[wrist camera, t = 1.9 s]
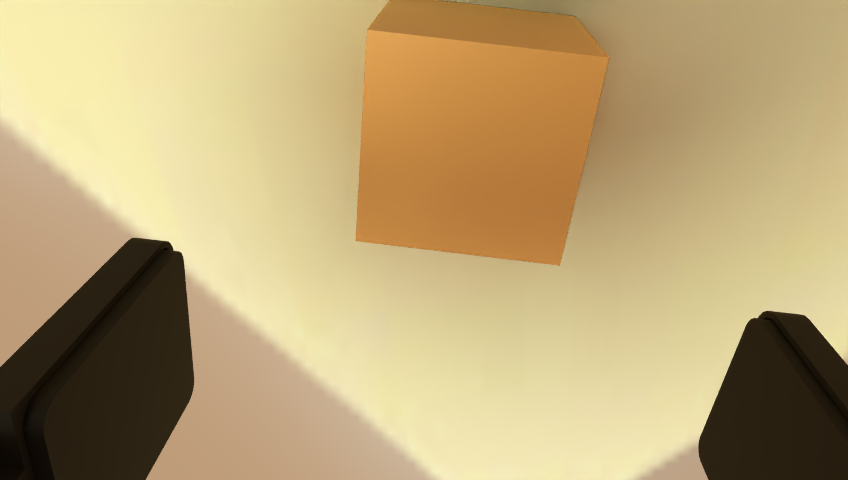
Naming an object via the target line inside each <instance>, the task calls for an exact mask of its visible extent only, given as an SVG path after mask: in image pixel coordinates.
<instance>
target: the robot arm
mask: <svg viewBox="0 0 848 480" xmlns="http://www.w3.org/2000/svg"><path fill="white" fill-rule="evenodd" d="M193 387H194V372H193V361H192V349H191V338H190V327H189V315H188V304H187V293H186V281H185V269H184V260H183V256H182V253H181V252H178V251H173V247H172V245H171V243H169V242H168V241H159V240H150V239H142V238H131V239H130V240H128V241H127V242H126V243H125V244H124V245H123V246H122V247H121V248H120V249H119V250H118V251H117V252H116V253H115V254H114V255H113V256H112V257H111V258H110V259H109V260H108V261H107V262H106V263H105V264H104V265H103V266H102V267H101V268H100V269H99V270H98V271H97V272H96V273H95V274H94V275H93V276H92V277H91V278H90V279H89V280H88V281H87V282H86V283H85V284H84V285H83V286H82V287H81V288H80V289H79V290H78V291H77V292H76V293H75V294H74V295H73V296H72V297H71V298H70V299H69V300H68V301H67V302H66V303H65V304H64V305H63V306H62V307H61V308H60V309H59V310H58V311H57V312H56V313H55V314H54V315H53V316H52V317H51V318H50V319H48V320H47V321H46V322H45V323H44V325H43V326H41V328H39V329H38V330H37V331H36V332H35V333H34V334H33V335H32V336H31V337H30V338H29V339H28V340H27V341H26V342H25V343H24V344H23V345H22V346H21V347H20V348H19V349H18V350H17V351H16V352H15V353H14V354H13V355H12V356H11V357H10V358H9V359H8V360H7V361H6V362H5V363H4V364H3V365H2V366H1V367H0V480H146V478H147V476H148V474H149V472H150V471H151V469H152V467H153V465H154V464H155V462H156V460H157V458H158V456H159V455H160V453H161V451H162V449H163V448H164V446H165V444H166V442H167V440H168V439H169V437H170V435H171V433H172V431H173V430H174V428H175V426H176V424H177V422H178V421H179V419H180V417H181V415H182V413H183V412H184V410H185V408H186V406H187V404H188V403H189V400H190V398H191V395H192V392H193ZM699 457H700V461H701V463H702V465H703V468H704V470H705V473H706V475H707V477H708V479H709V480H848V365H847V364H846V363H845V362H844V360H843V359H842V358H841V357H840V356H839V354H838V353H837V352H836V351H835V350H834V348H833V347H832V346H831V345H830V344H829V342H828V341H827V340H826V339H825V338H824V337H823V335H822V334H821V333H820V332H819V331H818V329H817V328H816V327H815V326H814V325H813V323H812V322H811V321H810V320H809V319H808V318H807V317H806V316H804V315H799V314H791V313H782V312H773V311H765V312H763V313H762V314H761V315H760V316H759V317H758V318H753V319H751V320H750V321H749V322H748V323H747V325H746V327H745V330H744V332H743V334H742V337H741V339H740V342H739V344H738V347H737V349H736V351H735V354H734V356H733V359H732V361H731V364H730V366H729V368H728V371H727V373H726V376H725V378H724V381H723V383H722V385H721V388H720V390H719V393H718V395H717V398H716V400H715V402H714V405H713V407H712V410H711V412H710V414H709V417H708V419H707V422H706V424H705V427H704V429H703V431H702V434H701V436H700V440H699Z"/></svg>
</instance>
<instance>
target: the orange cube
mask: <svg viewBox="0 0 848 480" xmlns="http://www.w3.org/2000/svg"><path fill="white" fill-rule="evenodd" d="M608 61H609V57H608V56H607V54H606V53H605V52H604V51H603V50H602V48H601V47H600V46H599V45H598V44H597V42H596V41H595V40H594V39H593V38H592V36H591V35H590V34H589V33H588V32H587V30H586V29H585V28H584V27H583V26H582V24H581V23H580V22H579V21H578V20H577V18H576V17H575V16H569V15H560V14H551V13H543V12H534V11H525V10H517V9H508V8H499V7H491V6H482V5H473V4H465V3H456V2H447V1H439V0H389V2H388V3H387V4H386V6H385V7H384V8H383V10H382V11H381V12H380V14H379V15H378V16H377V17H376V19H375V20H374V21H373V23H372V24H371V25H370V27H369V28H368V29H367V42H366V60H365V79H364V97H363V116H362V134H361V153H360V171H359V190H358V208H357V227H356V241H360V242H369V243H377V244H385V245H394V246H402V247H410V248H419V249H427V250H435V251H444V252H452V253H461V254H469V255H477V256H486V257H494V258H502V259H511V260H519V261H527V262H536V263H544V264H552V265H560V263H561V259H562V254H563V250H564V246H565V242H566V238H567V233H568V229H569V225H570V221H571V217H572V212H573V208H574V204H575V200H576V196H577V191H578V187H579V183H580V179H581V175H582V170H583V166H584V162H585V158H586V154H587V149H588V145H589V141H590V137H591V133H592V128H593V124H594V120H595V116H596V112H597V107H598V103H599V99H600V95H601V91H602V86H603V82H604V78H605V74H606V70H607V65H608Z"/></svg>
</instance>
